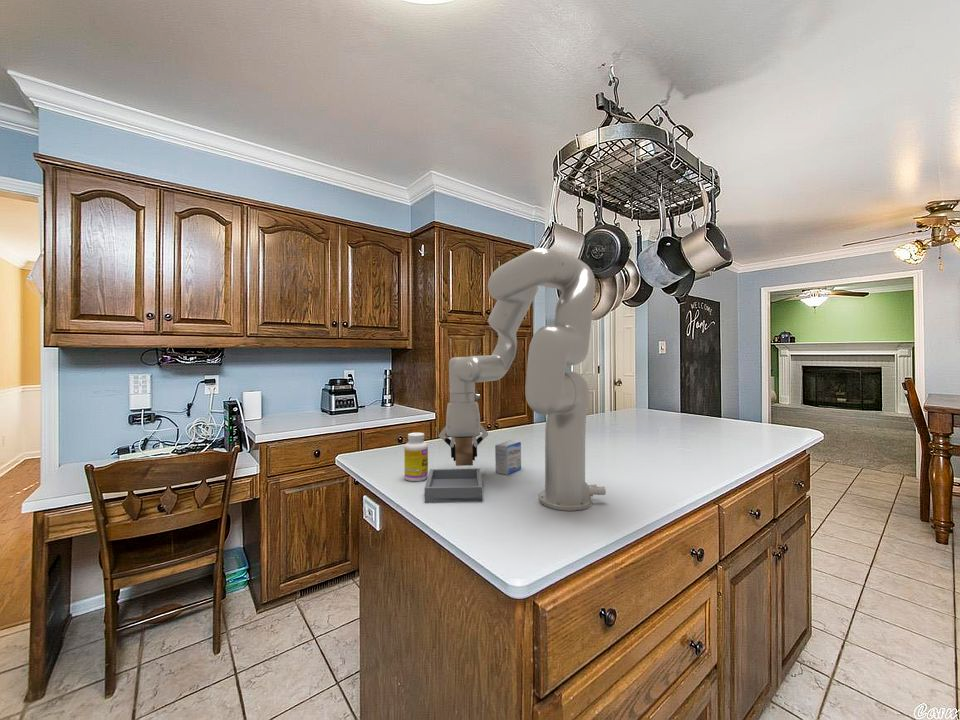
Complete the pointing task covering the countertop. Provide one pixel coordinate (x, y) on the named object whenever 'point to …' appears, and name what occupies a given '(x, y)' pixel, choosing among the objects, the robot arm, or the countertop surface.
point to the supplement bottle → (416, 457)
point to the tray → (453, 485)
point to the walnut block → (463, 451)
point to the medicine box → (508, 457)
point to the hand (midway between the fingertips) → (464, 459)
